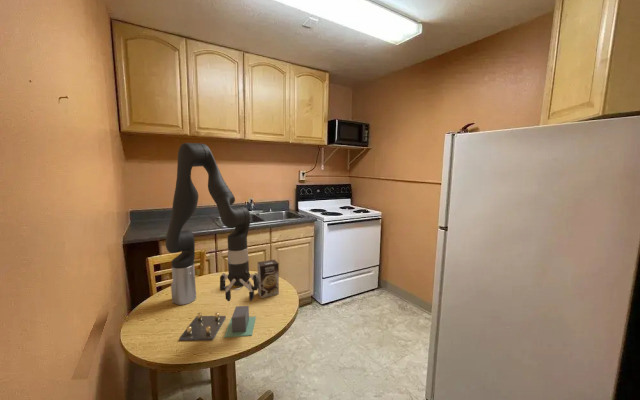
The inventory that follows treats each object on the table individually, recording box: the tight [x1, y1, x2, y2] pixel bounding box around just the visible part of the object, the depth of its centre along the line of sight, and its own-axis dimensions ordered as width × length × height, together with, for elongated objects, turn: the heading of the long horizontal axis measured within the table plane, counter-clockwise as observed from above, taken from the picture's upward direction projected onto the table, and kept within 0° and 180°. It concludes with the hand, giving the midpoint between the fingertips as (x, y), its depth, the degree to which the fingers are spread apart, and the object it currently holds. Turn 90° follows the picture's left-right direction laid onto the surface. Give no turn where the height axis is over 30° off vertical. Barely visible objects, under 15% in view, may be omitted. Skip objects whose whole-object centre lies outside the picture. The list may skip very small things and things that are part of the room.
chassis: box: [179, 312, 227, 341], centre depth 102 cm, size 12×14×4 cm
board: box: [223, 305, 257, 339], centre depth 103 cm, size 10×12×7 cm
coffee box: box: [257, 259, 280, 299], centre depth 130 cm, size 9×6×16 cm
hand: (240, 300), depth 102 cm, fingers open, 8 cm apart
